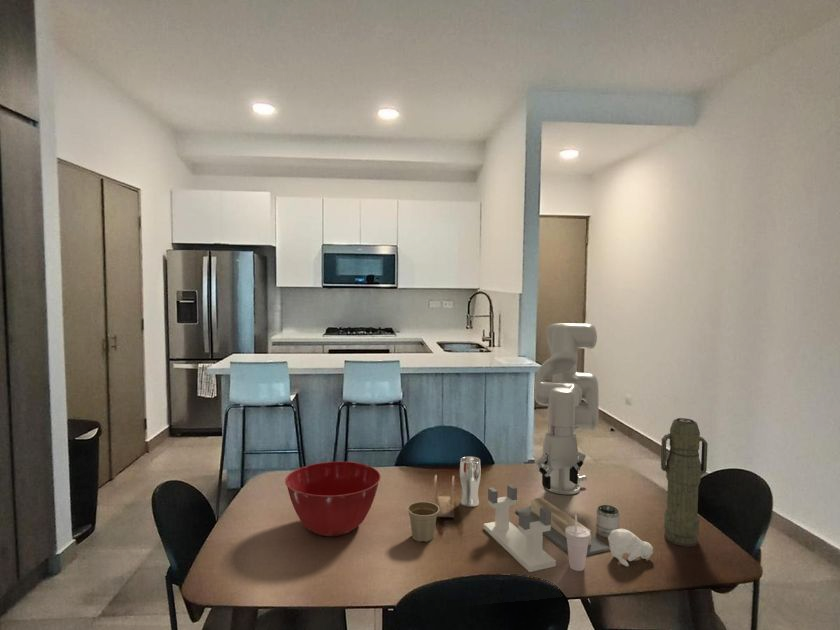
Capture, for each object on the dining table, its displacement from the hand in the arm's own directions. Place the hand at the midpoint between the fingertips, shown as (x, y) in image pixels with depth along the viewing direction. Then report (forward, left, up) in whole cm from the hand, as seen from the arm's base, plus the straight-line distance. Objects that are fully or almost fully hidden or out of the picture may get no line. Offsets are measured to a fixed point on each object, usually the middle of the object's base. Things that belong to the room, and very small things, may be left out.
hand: (560, 485), depth 154 cm
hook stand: (+17, +5, -14) cm, 23 cm away
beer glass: (+17, -25, -14) cm, 34 cm away
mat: (0, +1, -14) cm, 13 cm away
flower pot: (+40, -9, -14) cm, 44 cm away
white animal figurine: (-8, +22, -14) cm, 27 cm away
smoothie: (+8, +19, -14) cm, 25 cm away
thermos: (-30, +18, -14) cm, 37 cm away
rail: (+1, +1, -13) cm, 13 cm away
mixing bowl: (+63, -25, -14) cm, 70 cm away
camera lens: (-12, +8, -14) cm, 19 cm away
